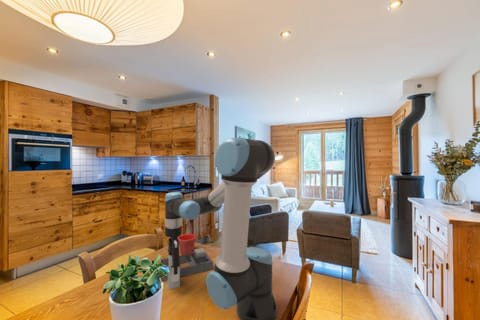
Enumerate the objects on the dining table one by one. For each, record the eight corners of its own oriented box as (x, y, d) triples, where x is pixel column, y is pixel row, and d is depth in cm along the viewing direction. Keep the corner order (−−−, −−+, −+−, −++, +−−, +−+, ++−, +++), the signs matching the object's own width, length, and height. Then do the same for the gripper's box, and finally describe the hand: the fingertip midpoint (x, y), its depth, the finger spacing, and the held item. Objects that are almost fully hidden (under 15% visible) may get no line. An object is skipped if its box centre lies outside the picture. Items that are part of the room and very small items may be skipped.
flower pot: (175, 256, 125) (175, 240, 125) (181, 248, 136) (181, 233, 136) (193, 256, 125) (193, 240, 125) (197, 248, 136) (197, 233, 136)
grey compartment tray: (212, 269, 110) (212, 261, 110) (158, 282, 98) (158, 273, 98) (204, 257, 124) (204, 250, 124) (155, 267, 112) (155, 260, 112)
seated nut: (205, 266, 114) (205, 251, 114) (196, 268, 112) (196, 253, 112) (202, 262, 118) (203, 247, 118) (194, 264, 116) (194, 249, 116)
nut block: (179, 286, 95) (179, 269, 95) (168, 289, 93) (168, 271, 93) (177, 281, 100) (177, 264, 100) (166, 283, 97) (166, 266, 97)
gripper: (187, 232, 88) (186, 285, 88) (177, 219, 108) (177, 262, 108) (168, 235, 84) (168, 290, 84) (162, 220, 105) (161, 265, 105)
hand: (173, 274), depth 96 cm, fingers open, 10 cm apart
